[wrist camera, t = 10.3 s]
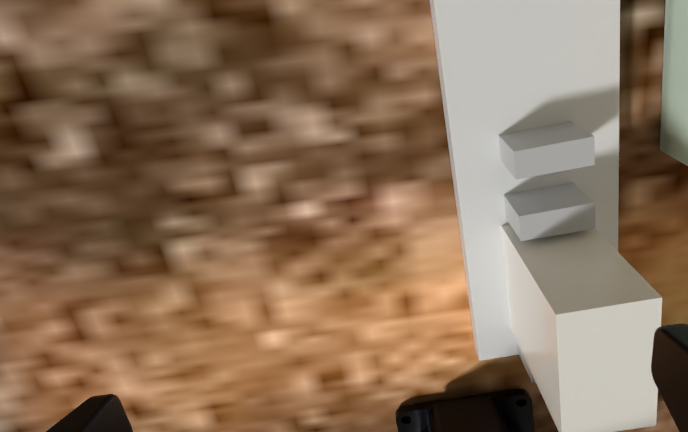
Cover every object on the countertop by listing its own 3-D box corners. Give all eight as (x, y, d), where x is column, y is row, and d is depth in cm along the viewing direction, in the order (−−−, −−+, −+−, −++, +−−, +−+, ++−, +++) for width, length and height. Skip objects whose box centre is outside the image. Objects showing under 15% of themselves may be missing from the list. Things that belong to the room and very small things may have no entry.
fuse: (581, 316, 23) (656, 425, 17) (510, 328, 23) (562, 439, 17) (579, 211, 21) (662, 297, 15) (501, 225, 21) (555, 314, 15)
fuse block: (607, 325, 24) (640, 370, 21) (474, 346, 25) (490, 393, 22) (605, -502, 13) (671, -623, 11) (373, -433, 14) (379, -532, 11)
